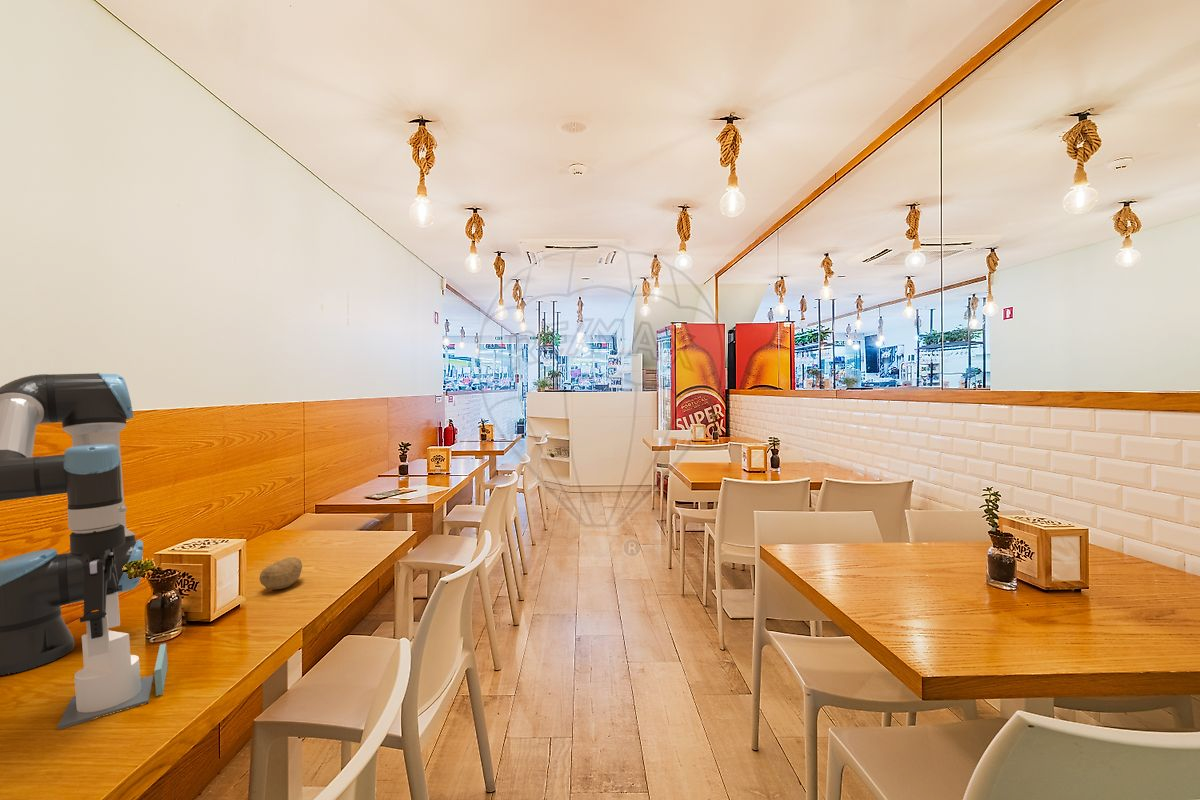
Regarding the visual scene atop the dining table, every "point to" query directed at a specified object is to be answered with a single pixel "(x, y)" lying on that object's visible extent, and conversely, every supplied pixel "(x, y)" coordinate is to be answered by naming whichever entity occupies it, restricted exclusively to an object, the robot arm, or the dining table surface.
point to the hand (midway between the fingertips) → (105, 639)
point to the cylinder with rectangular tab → (107, 675)
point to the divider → (161, 669)
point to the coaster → (77, 717)
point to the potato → (281, 573)
